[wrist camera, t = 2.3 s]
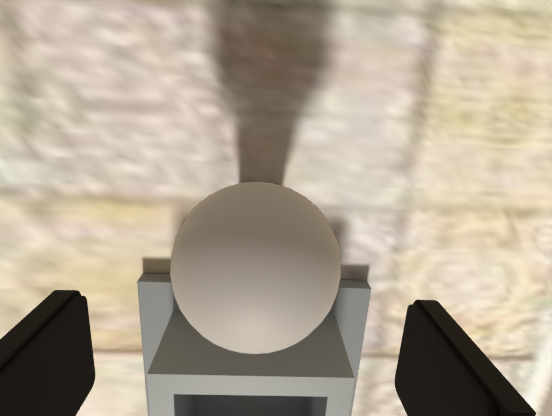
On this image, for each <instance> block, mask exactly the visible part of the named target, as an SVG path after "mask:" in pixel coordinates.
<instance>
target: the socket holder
mask: <svg viewBox="0 0 552 416" xmlns="http://www.w3.org/2000/svg"><path fill="white" fill-rule="evenodd" d="M137 284H138V296H139V309H140V322H141V334H142V347H143V360H144V372H145V385H146V398H147V410H148V416H351V413H352V407H353V401H354V394H355V388H356V382H357V375H358V369H359V363H360V357H361V350H362V344H363V338H364V331H365V325H366V319H367V312H368V306H369V300H370V293H371V288H370V286H369V284H368V282H367V280H340V282H339V287H338V291H337V295H336V298H335V300H334V302H333V305H332V307H331V309H330V311H329V313H328V314H327V315H326V317H325V318H324V320H323V321H322V322H321V323H320V324H319V325H318V326H317V327H316V328H315V329H314V330H313V331H312V332H311V333H310V334H309V335H308V336H307V337H305V338H304V339H302V340H301V341H299V342H298V343H296V344H294V345H292V346H290V347H287V348H285V349H283V350H279V351H275V352H271V353H261V354H248V353H239V352H235V351H231V350H227V349H225V348H223V347H220V346H218V345H216V344H214V343H212V342H211V341H209V340H208V339H206V338H205V337H203V336H202V335H201V334H200V333H199V332H198V331H197V330H196V329H195V328H194V327H193V326H192V325H191V324H190V323H189V322H188V320H187V319H186V318H185V316H184V315H183V313H182V312H181V310H180V308H179V306H178V303H177V301H176V299H175V296H174V291H173V287H172V281H171V276H170V274H150V273H143V274H142V275H141V277H140V278H139V280H138V281H137Z"/></svg>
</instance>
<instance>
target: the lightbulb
mask: <svg viewBox="0 0 552 416" xmlns="http://www.w3.org/2000/svg"><path fill="white" fill-rule="evenodd" d="M170 276H171V281H172V287H173V291H174V296H175V299H176V301H177V303H178V306H179V308H180V310H181V312H182V313H183V315H184V316H185V318H186V319H187V320H188V322H189V323H190V324H191V325H192V326H193V327H194V328H195V329H196V330H197V331H198V332H199V333H200V334H201V335H202V336H203V337H205V338H206V339H208V340H209V341H211V342H212V343H214V344H216V345H218V346H220V347H223V348H225V349H227V350H231V351H235V352H239V353H248V354H261V353H271V352H275V351H279V350H283V349H285V348H287V347H290V346H292V345H294V344H296V343H298V342H299V341H301V340H302V339H304V338H305V337H307V336H308V335H309V334H310V333H311V332H312V331H313V330H314V329H315V328H316V327H317V326H318V325H319V324H320V323H321V322H322V321H323V320H324V318H325V317H326V315H327V314H328V313H329V311H330V309H331V307H332V305H333V302H334V300H335V298H336V295H337V291H338V287H339V282H340V277H341V261H340V250H339V246H338V242H337V238H336V236H335V234H334V232H333V230H332V228H331V226H330V224H329V222H328V220H327V219H326V217H325V216H324V215H323V213H322V212H321V211H320V210H319V208H318V207H317V206H316V205H314V204H313V203H312V202H311V201H310V200H308V199H307V198H306V197H304V196H303V195H301V194H299V193H297V192H295V191H294V190H292V189H290V188H287V187H284V186H281V185H278V184H274V183H267V182H259V181H258V182H244V183H240V184H236V185H232V186H229V187H225V188H223V189H221V190H219V191H217V192H215V193H213V194H211V195H209V196H208V197H207V198H205V199H204V200H203V201H202V202H200V203H199V204H198V205H196V207H195V208H194V209H193V210H192V211H191V213H190V214H189V215H188V216H187V217H186V219H185V221H184V222H183V224H182V226H181V228H180V230H179V232H178V234H177V235H176V238H175V241H174V245H173V249H172V254H171V268H170Z"/></svg>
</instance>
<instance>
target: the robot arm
mask: <svg viewBox="0 0 552 416" xmlns="http://www.w3.org/2000/svg"><path fill="white" fill-rule="evenodd" d="M94 380H95V367H94V359H93V350H92V341H91V332H90V323H89V314H88V305H87V299H86V297H85V296H81V294H80V292H79V291H76V290H55V291H54V292H52V293H51V294H50V295H49V296H48V297H47V298H46V299H44V300H43V301H42V302H41V303H40V304H39V305H38V306H37V307H36V308H35V309H33V310H32V311H31V312H30V313H29V314H28V315H27V316H26V317H25V318H23V319H22V320H21V321H20V322H19V323H18V324H17V325H16V326H15V327H14V328H12V329H11V330H10V331H9V332H8V333H7V334H6V335H5V336H4V337H2V338H1V339H0V416H76V414H77V412H78V411H79V409H80V407H81V406H82V404H83V402H84V401H85V399H86V397H87V395H88V394H89V392H90V390H91V389H92V387H93V384H94ZM395 388H396V391H397V394H398V396H399V398H400V400H401V403H402V405H403V407H404V409H405V411H406V413H407V415H408V416H535V415H536V412H535V411H534V410H533V409H532V408H531V406H530V405H529V404H528V403H527V402H526V401H525V400H524V399H523V397H522V396H521V395H520V394H519V393H518V392H517V391H516V389H515V388H514V387H513V386H512V385H511V384H510V383H509V382H508V380H507V379H506V378H505V377H504V376H503V375H502V374H501V372H500V371H499V370H498V369H497V368H496V367H495V366H494V365H493V363H492V362H491V361H490V360H489V359H488V358H487V357H486V355H485V354H484V353H483V352H482V351H481V350H480V349H479V348H478V346H477V345H476V344H475V343H474V342H473V341H472V340H471V338H470V337H469V336H468V335H467V334H466V333H465V332H464V331H463V329H462V328H461V327H460V326H459V325H458V324H457V323H456V321H455V320H454V319H453V318H452V317H451V316H450V315H449V314H448V312H447V311H446V310H445V309H444V308H443V307H442V306H441V305H440V303H439V302H437V301H435V300H416V301H415V302H414V304H413V305H409V306H408V309H407V314H406V320H405V325H404V331H403V337H402V342H401V348H400V353H399V359H398V364H397V370H396V375H395Z"/></svg>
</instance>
